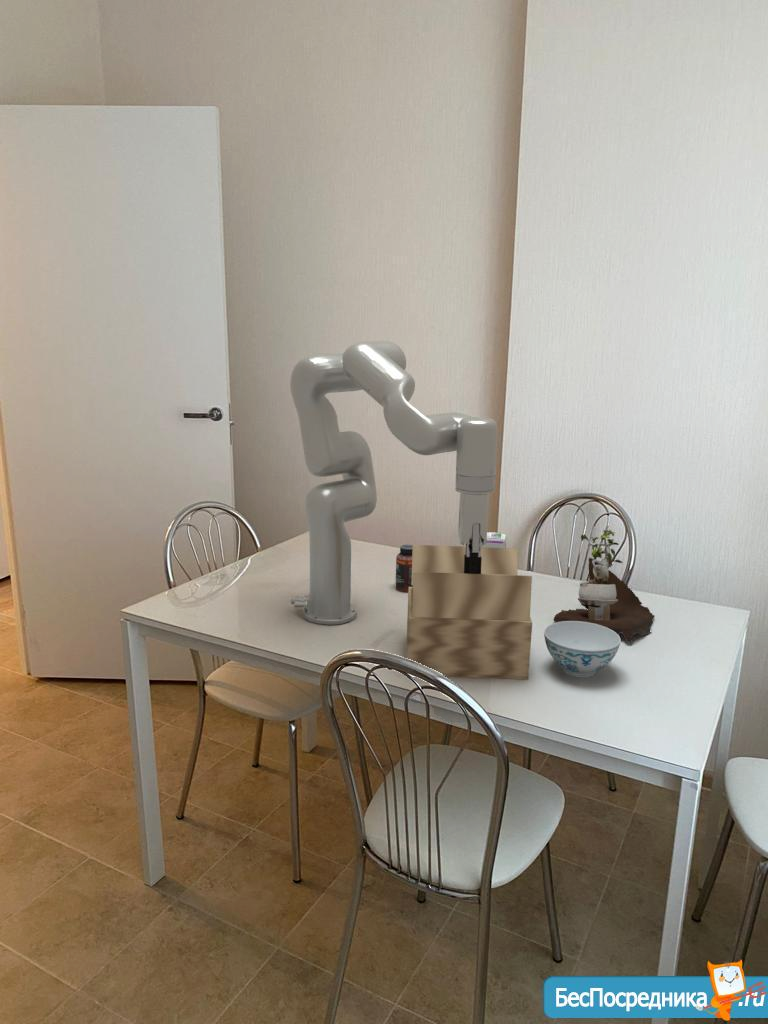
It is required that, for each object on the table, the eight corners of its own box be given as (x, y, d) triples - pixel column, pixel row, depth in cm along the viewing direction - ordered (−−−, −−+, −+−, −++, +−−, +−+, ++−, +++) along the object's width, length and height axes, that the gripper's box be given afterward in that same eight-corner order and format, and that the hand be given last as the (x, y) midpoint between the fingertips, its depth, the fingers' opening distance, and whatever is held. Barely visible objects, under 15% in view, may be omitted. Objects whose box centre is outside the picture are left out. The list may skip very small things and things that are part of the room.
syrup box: (502, 593, 210) (506, 539, 207) (479, 591, 212) (482, 537, 208) (504, 586, 216) (507, 533, 212) (481, 584, 217) (484, 531, 213)
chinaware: (570, 692, 158) (573, 655, 156) (527, 661, 172) (529, 626, 170) (632, 680, 164) (636, 644, 162) (586, 650, 178) (589, 617, 176)
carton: (406, 674, 164) (408, 618, 161) (406, 638, 181) (408, 586, 178) (527, 679, 163) (532, 622, 160) (516, 642, 181) (520, 590, 178)
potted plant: (551, 635, 191) (554, 527, 193) (584, 631, 206) (586, 531, 208) (635, 643, 179) (637, 528, 181) (663, 638, 194) (666, 532, 196)
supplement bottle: (422, 587, 213) (424, 545, 210) (411, 594, 208) (412, 551, 205) (402, 583, 216) (404, 541, 213) (390, 589, 211) (392, 547, 208)
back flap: (412, 544, 180) (412, 545, 180) (411, 585, 178) (411, 585, 179) (517, 548, 180) (517, 548, 180) (517, 588, 178) (517, 589, 178)
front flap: (411, 616, 161) (411, 616, 160) (413, 571, 160) (413, 572, 159) (529, 620, 160) (529, 621, 160) (531, 575, 159) (531, 576, 159)
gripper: (453, 475, 164) (450, 563, 168) (458, 491, 149) (455, 587, 154) (491, 475, 164) (487, 564, 168) (499, 491, 149) (495, 588, 154)
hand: (472, 575), depth 161 cm, fingers closed
